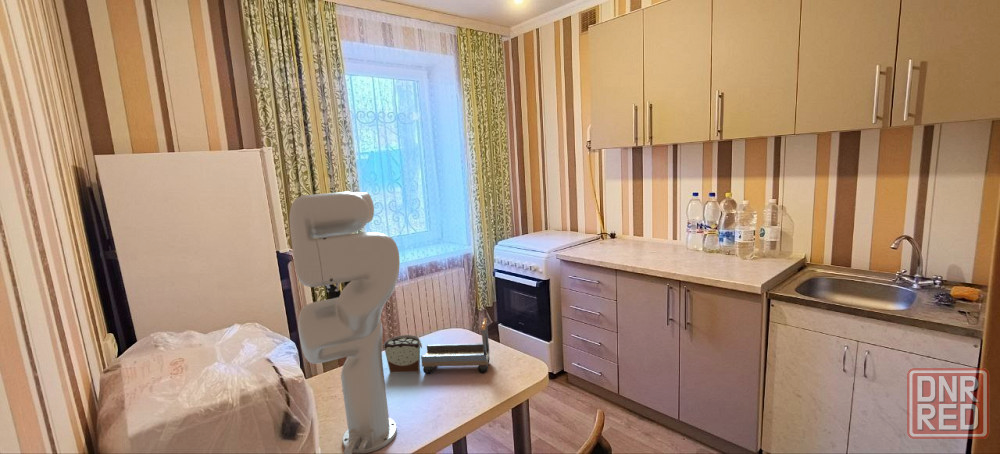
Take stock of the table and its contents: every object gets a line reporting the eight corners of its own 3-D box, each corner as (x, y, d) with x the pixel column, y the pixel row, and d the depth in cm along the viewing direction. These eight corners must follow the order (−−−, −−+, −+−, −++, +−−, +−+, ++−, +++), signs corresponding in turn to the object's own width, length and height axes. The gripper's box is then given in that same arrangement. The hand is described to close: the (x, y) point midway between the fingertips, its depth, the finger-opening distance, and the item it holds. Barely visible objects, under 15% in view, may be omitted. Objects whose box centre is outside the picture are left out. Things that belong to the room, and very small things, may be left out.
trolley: (488, 374, 128) (484, 327, 126) (423, 375, 130) (418, 329, 127) (490, 361, 136) (487, 317, 134) (429, 362, 138) (424, 319, 135)
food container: (428, 362, 138) (425, 333, 136) (423, 372, 132) (420, 342, 130) (391, 363, 139) (388, 334, 137) (385, 372, 133) (381, 343, 131)
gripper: (335, 245, 107) (343, 309, 110) (361, 232, 124) (368, 288, 127) (306, 246, 108) (315, 310, 110) (337, 233, 125) (344, 289, 127)
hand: (344, 298), depth 119 cm, fingers open, 9 cm apart
